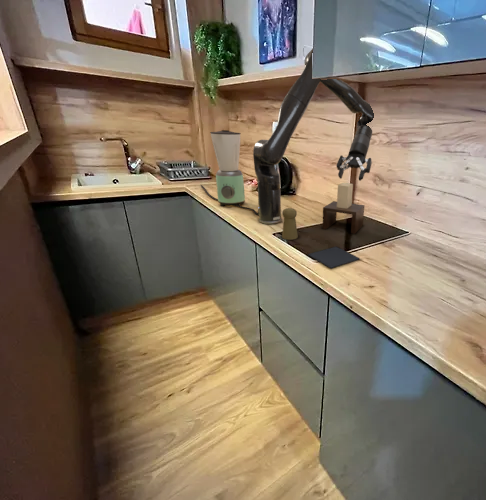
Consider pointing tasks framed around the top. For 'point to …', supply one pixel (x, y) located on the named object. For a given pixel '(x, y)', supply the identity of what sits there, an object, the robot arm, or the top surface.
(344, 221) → the top surface
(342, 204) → the block
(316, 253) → the mat
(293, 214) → the olive pepper mill
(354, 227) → the shelf
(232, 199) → the green blender
